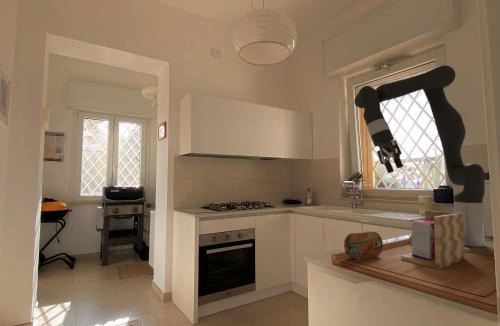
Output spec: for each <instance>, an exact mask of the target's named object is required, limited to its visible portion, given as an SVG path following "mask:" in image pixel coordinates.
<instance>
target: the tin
mask: <svg viewBox="0 0 500 326" xmlns="http://www.w3.org/2000/svg"><path fill="white" fill-rule="evenodd" d="M343 241H344V242H343V249H344V252H345V254H346V256H347V257H349V258H351V259H354V260H356V261H360V260H366V259H373V258H376V257H379V256H380V254H381V253H382V251H383V244H384V242H383V238H382V237H381V235H380V234H379V233H378V232H376V231H361V232H360V231H359V232H351V233H349V234H347V235H346V237H345V238H344V240H343Z"/></svg>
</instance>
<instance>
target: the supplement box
mask: <svg viewBox="0 0 500 326" xmlns="http://www.w3.org/2000/svg"><path fill="white" fill-rule="evenodd" d="M411 224H412V225H411V227H412V228H411V231H412V232H411V234H412V245H411V253H412V256H414V257H418V258H422V259H425V260H434V259H435V232H434V222H432V221H426V220H425V219H417V220H415V219H414V220H412V222H411Z"/></svg>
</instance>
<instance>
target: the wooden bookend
mask: <svg viewBox="0 0 500 326" xmlns="http://www.w3.org/2000/svg"><path fill="white" fill-rule="evenodd" d="M424 211H425V212H424V215H425V216H424V218H425V219H424V220H426V221H432V222H434V232H435V259H434V260H425V259H422V258H418V257H414V256H412V252H410V253H406V254H403V255H401V256H400V260H401V261H405V262H410V263H414V264H418V265H422V266H425V267H431V268H434V269H439V270H442V269H443V268H446V267H449V266H451V265H454V264H456V263H459V262H461V261H465V259H466V257H465V252H464V247H465V245H464V225H463V213H454V212H452V211H441V210H430V209H425V210H424Z"/></svg>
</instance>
